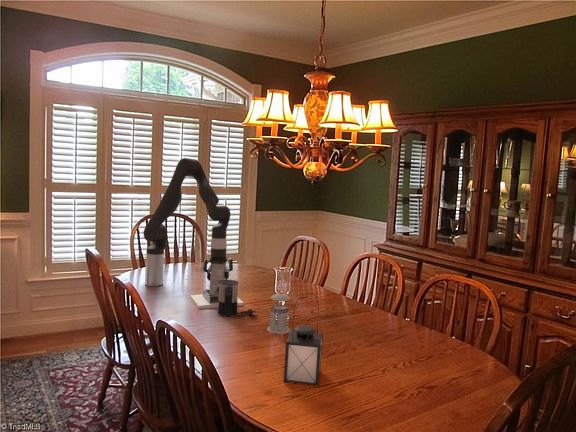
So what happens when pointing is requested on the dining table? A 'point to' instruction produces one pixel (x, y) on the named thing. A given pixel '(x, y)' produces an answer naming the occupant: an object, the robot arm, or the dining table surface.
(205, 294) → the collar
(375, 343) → the dining table surface
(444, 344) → the dining table surface
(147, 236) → the robot arm
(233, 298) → the milk frother
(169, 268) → the dining table surface
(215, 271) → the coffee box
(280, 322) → the glass oil lamp
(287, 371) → the lantern
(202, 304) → the base board
